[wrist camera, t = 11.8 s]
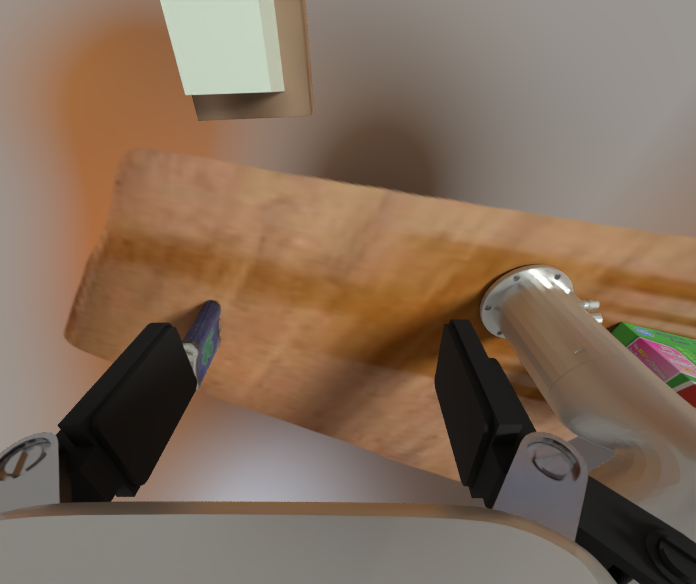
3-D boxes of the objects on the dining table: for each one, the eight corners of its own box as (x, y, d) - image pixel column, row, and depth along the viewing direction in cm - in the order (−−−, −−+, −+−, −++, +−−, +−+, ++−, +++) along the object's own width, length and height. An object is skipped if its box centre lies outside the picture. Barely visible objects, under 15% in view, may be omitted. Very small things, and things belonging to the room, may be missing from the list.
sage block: (273, -4, 24) (254, -29, 18) (284, 91, 27) (271, 91, 22) (193, -1, 24) (153, -25, 19) (214, 93, 27) (185, 95, 22)
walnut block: (303, -24, 27) (295, -45, 22) (314, 112, 32) (310, 115, 28) (186, -18, 27) (156, -38, 22) (217, 116, 32) (198, 120, 28)
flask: (221, 347, 50) (193, 404, 41) (201, 344, 49) (170, 401, 40) (222, 301, 45) (192, 354, 36) (201, 297, 44) (165, 350, 35)
